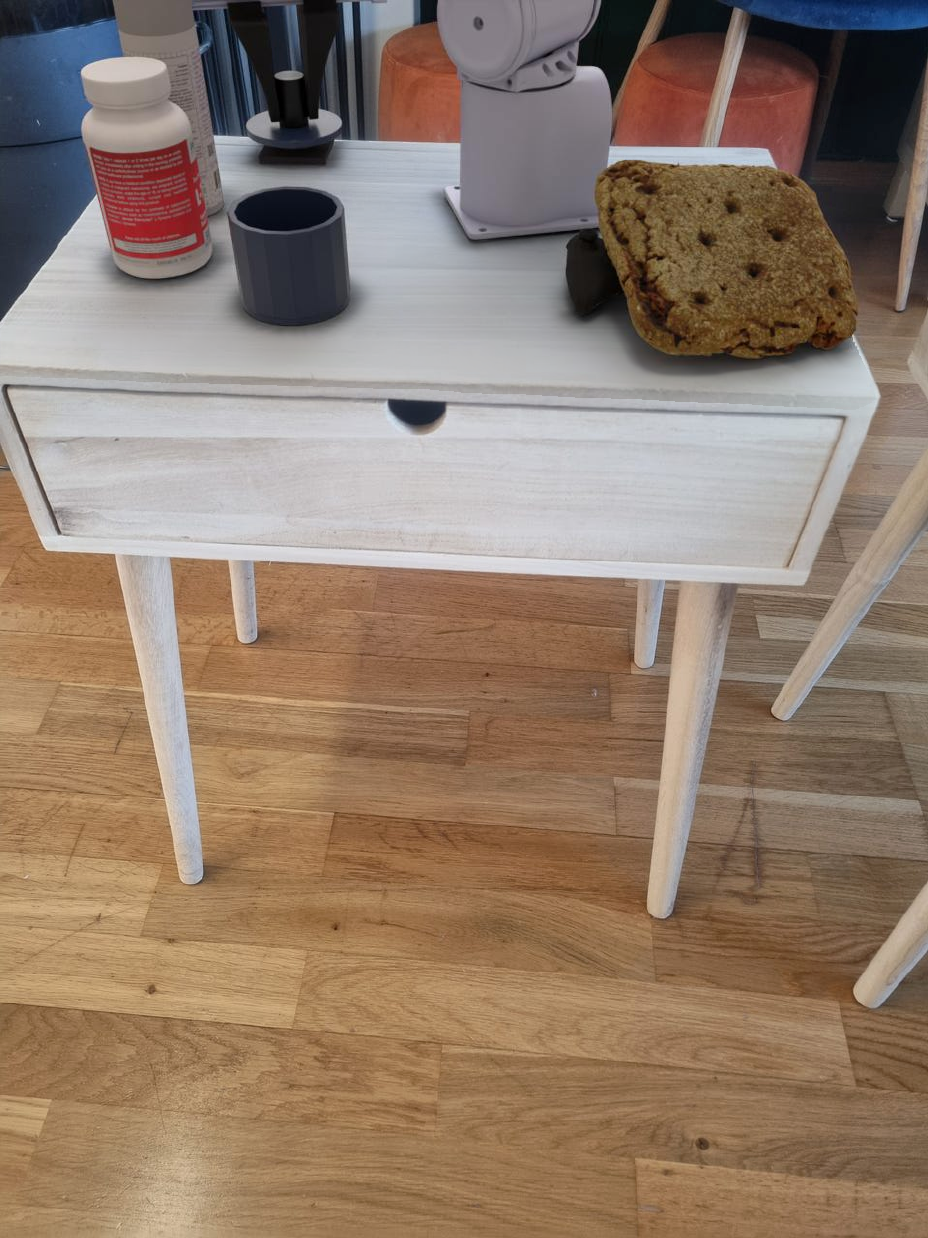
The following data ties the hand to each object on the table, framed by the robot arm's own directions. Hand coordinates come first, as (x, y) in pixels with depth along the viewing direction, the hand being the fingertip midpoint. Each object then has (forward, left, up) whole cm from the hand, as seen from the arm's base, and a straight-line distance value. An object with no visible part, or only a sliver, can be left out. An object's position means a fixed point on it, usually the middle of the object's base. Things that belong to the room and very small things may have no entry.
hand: (293, 116), depth 74 cm
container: (+8, +8, -3) cm, 12 cm away
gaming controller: (-17, +27, -2) cm, 32 cm away
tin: (+3, +23, -2) cm, 24 cm away
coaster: (0, 0, -2) cm, 2 cm away
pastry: (-21, +30, 0) cm, 36 cm away
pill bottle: (+10, +16, -3) cm, 20 cm away
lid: (0, 0, -1) cm, 1 cm away
